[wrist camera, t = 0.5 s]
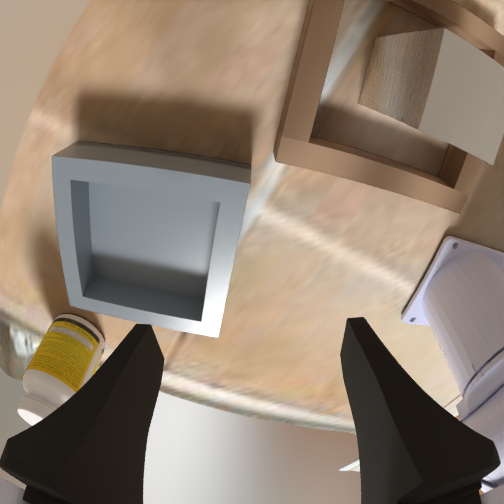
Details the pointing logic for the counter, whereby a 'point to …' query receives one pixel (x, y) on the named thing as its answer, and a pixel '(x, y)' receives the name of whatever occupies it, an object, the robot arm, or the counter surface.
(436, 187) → the brown flat square frame
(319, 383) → the counter surface
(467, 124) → the brushed metal top block
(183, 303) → the tray
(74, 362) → the supplement bottle
